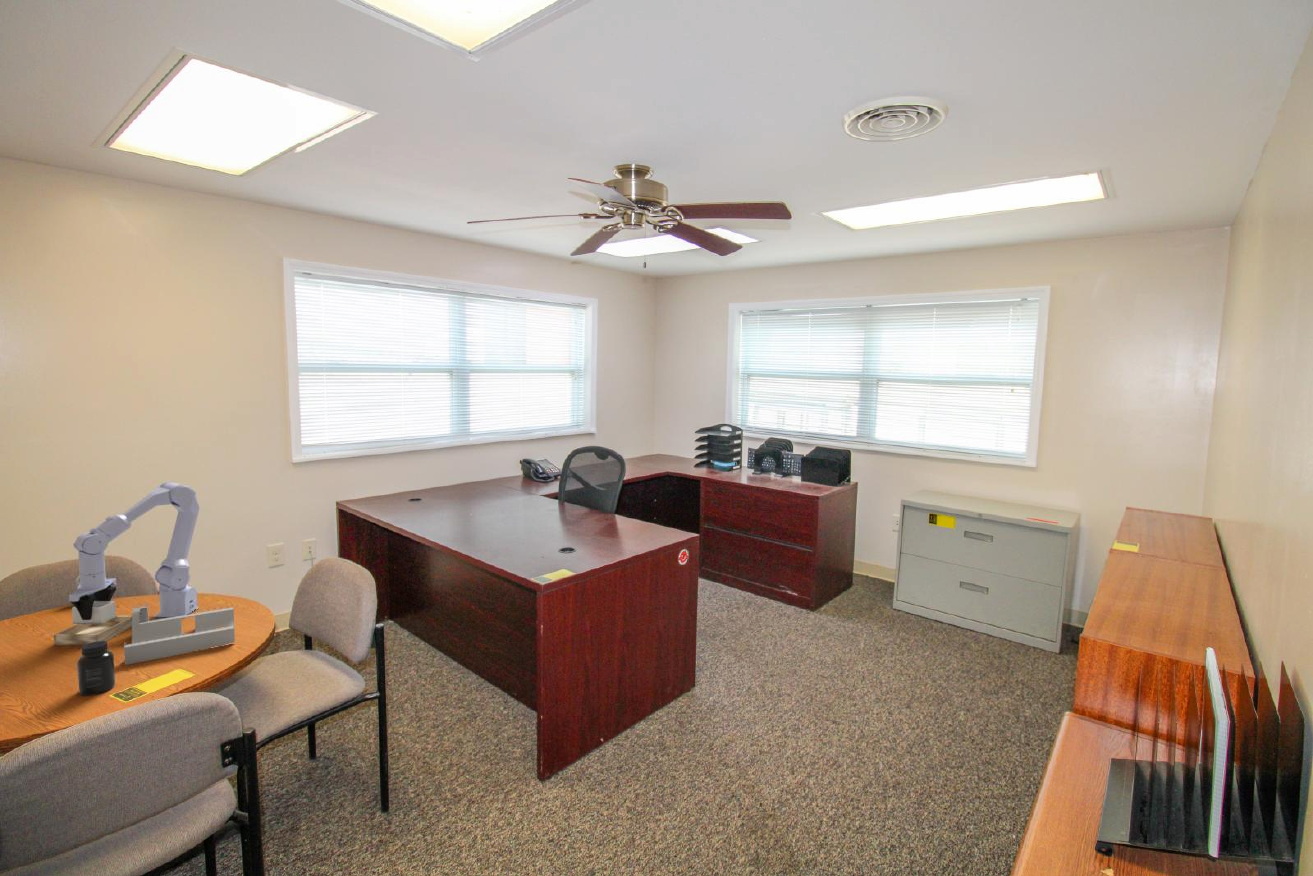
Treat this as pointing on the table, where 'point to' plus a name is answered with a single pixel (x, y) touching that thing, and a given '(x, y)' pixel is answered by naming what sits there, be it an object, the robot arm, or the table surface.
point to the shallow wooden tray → (93, 631)
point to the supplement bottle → (95, 669)
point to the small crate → (97, 613)
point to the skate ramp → (177, 634)
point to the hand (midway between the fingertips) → (95, 615)
